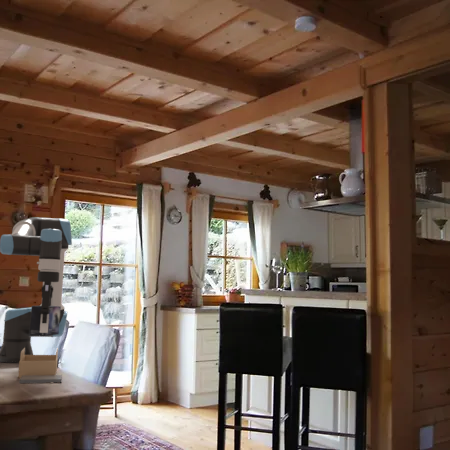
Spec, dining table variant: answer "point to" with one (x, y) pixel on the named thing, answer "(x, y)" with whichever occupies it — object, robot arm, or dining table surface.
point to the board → (40, 378)
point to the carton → (37, 364)
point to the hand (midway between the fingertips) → (44, 331)
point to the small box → (52, 325)
